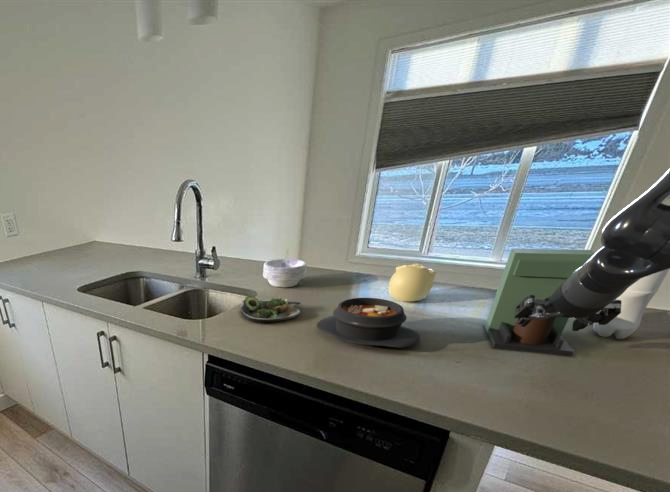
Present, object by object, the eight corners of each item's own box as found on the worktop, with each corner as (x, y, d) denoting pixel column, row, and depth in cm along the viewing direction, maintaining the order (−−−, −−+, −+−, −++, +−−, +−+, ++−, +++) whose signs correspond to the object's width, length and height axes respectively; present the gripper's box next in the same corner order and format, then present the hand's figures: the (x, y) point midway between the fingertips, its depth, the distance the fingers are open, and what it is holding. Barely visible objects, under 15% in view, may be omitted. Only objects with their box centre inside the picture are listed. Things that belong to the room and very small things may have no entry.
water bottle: (583, 328, 101) (634, 222, 88) (620, 329, 98) (678, 221, 86) (599, 339, 95) (656, 228, 82) (639, 341, 93) (704, 227, 80)
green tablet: (484, 326, 106) (511, 248, 96) (553, 332, 100) (590, 249, 90) (493, 348, 96) (524, 263, 86) (571, 356, 90) (615, 265, 80)
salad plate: (289, 300, 136) (290, 286, 133) (314, 318, 120) (316, 303, 118) (233, 307, 134) (233, 293, 132) (252, 326, 119) (252, 311, 116)
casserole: (303, 337, 109) (306, 308, 105) (334, 316, 120) (338, 289, 116) (403, 362, 93) (411, 329, 89) (429, 336, 104) (437, 304, 100)
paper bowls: (300, 277, 157) (302, 256, 153) (308, 289, 144) (311, 266, 140) (260, 279, 158) (261, 259, 155) (265, 291, 145) (266, 269, 141)
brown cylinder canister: (523, 331, 99) (537, 298, 95) (552, 341, 94) (568, 306, 89) (504, 336, 98) (516, 303, 93) (532, 346, 92) (547, 311, 88)
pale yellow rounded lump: (433, 296, 127) (442, 262, 122) (420, 307, 121) (429, 271, 115) (394, 290, 135) (402, 258, 129) (380, 300, 128) (387, 266, 123)
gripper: (647, 271, 70) (594, 312, 84) (541, 268, 76) (508, 306, 90) (645, 311, 68) (591, 345, 83) (537, 304, 75) (504, 337, 89)
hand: (548, 324), depth 86 cm, fingers open, 8 cm apart
